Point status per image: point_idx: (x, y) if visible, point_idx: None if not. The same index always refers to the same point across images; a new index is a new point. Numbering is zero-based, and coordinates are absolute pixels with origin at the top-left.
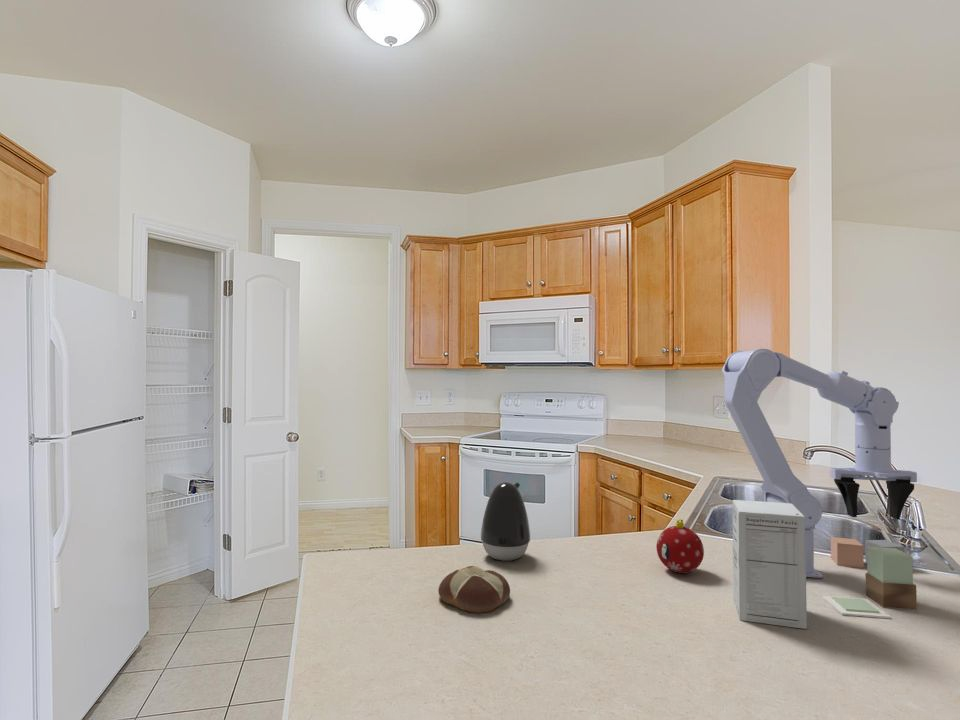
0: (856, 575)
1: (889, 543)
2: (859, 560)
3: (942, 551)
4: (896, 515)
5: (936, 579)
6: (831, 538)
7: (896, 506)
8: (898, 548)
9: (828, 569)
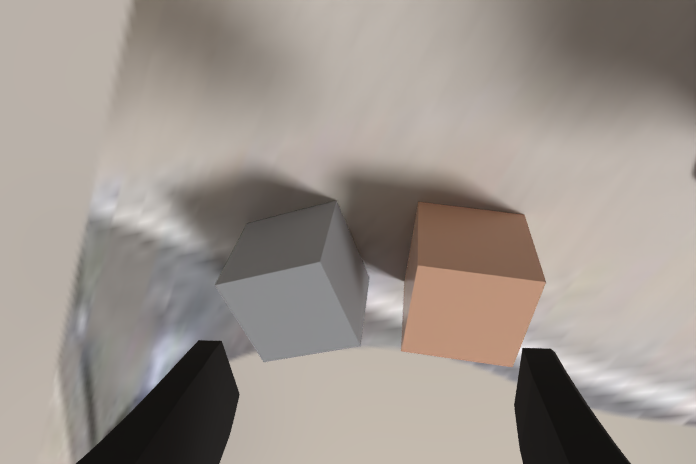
0: (517, 84)
1: (266, 317)
2: (434, 222)
3: (72, 404)
4: (209, 361)
5: (162, 119)
6: (515, 354)
7: (176, 434)
8: (245, 273)
9: (614, 145)
